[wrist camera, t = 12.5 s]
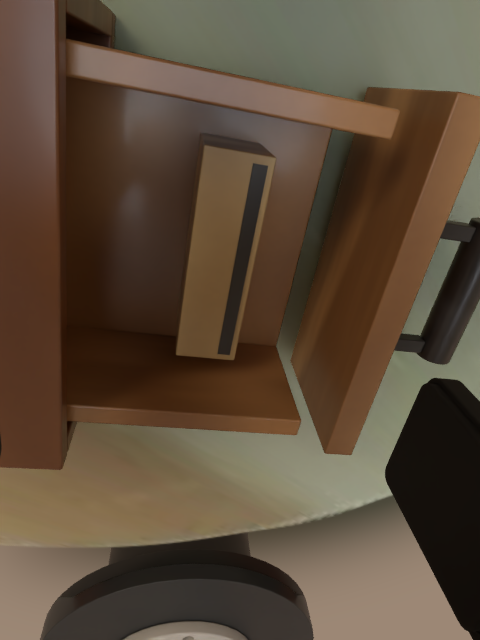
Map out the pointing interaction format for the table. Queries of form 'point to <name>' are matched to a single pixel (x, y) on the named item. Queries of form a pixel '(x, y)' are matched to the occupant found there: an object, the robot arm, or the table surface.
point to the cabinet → (36, 222)
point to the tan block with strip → (221, 244)
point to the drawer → (273, 250)
